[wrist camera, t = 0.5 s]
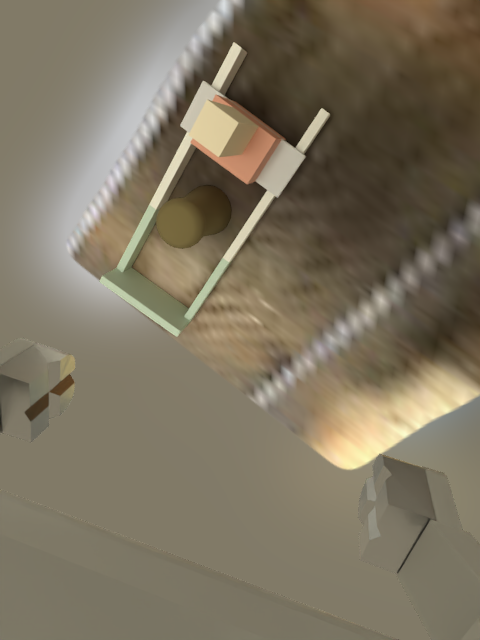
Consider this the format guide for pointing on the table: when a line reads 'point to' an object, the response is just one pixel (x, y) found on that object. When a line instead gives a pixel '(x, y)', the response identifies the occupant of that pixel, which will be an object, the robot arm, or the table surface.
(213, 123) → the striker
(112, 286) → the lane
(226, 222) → the olive rounded upright piece
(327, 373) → the table surface
